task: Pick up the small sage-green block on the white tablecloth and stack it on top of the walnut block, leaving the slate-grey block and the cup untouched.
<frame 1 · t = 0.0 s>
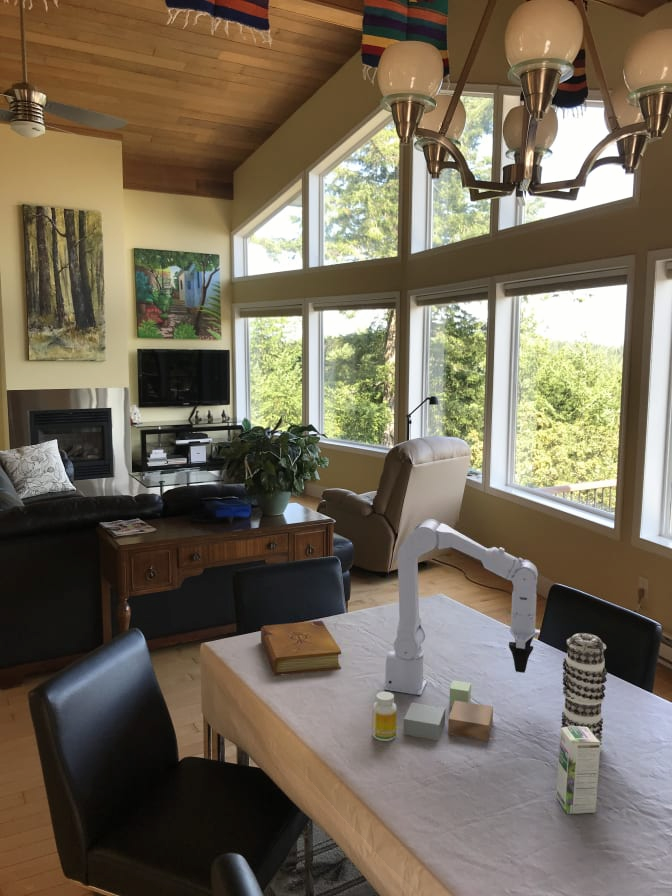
hand: (521, 665, 172), 10 cm above the table, tool pointing down, fingers open, 7 cm apart
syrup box: (575, 805, 135), on the table
supplement bottle: (384, 736, 159), on the table
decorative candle: (580, 746, 155), on the table
diary: (299, 657, 202), on the table
sage block: (459, 704, 173), on the table
slate block: (424, 729, 162), on the table
walnut block: (470, 728, 163), on the table
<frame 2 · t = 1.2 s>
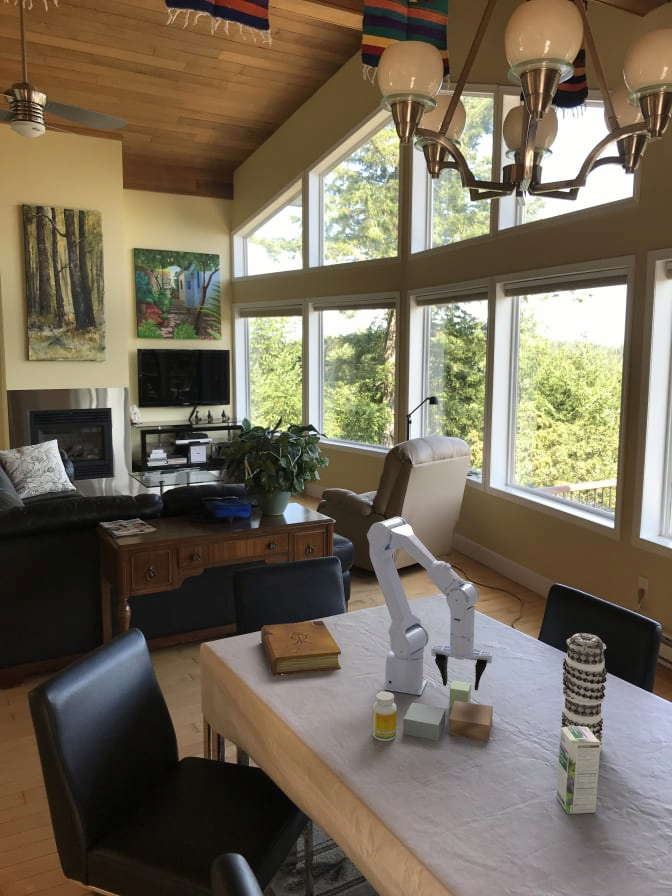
hand: (460, 686, 173), 5 cm above the table, tool pointing down, fingers open, 7 cm apart
nothing on the table moved.
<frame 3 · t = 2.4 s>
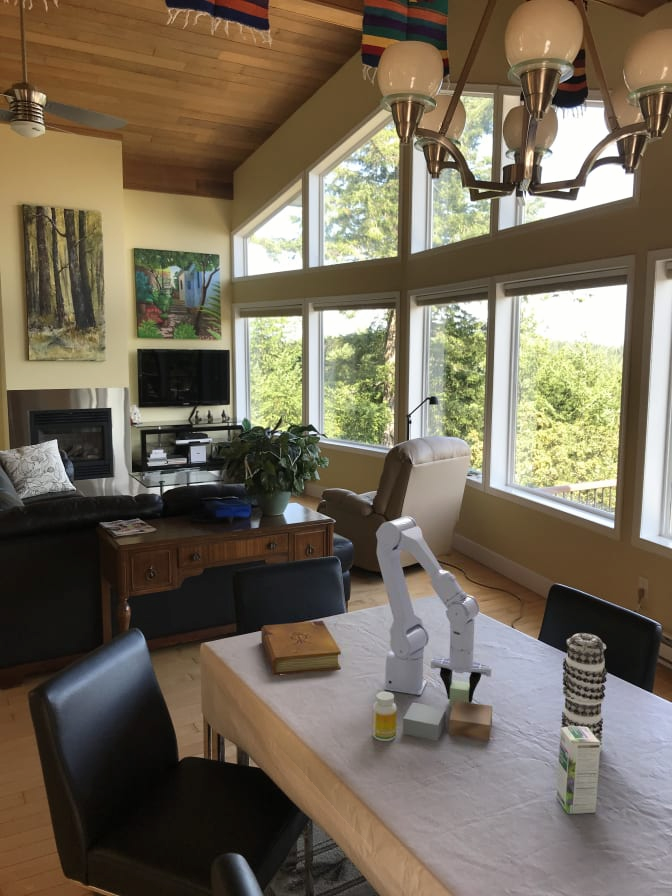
hand: (460, 699, 173), 1 cm above the table, tool pointing down, fingers closed on sage block, 4 cm apart
sage block: (459, 704, 173), on the table, touching gripper
everything else where it was.
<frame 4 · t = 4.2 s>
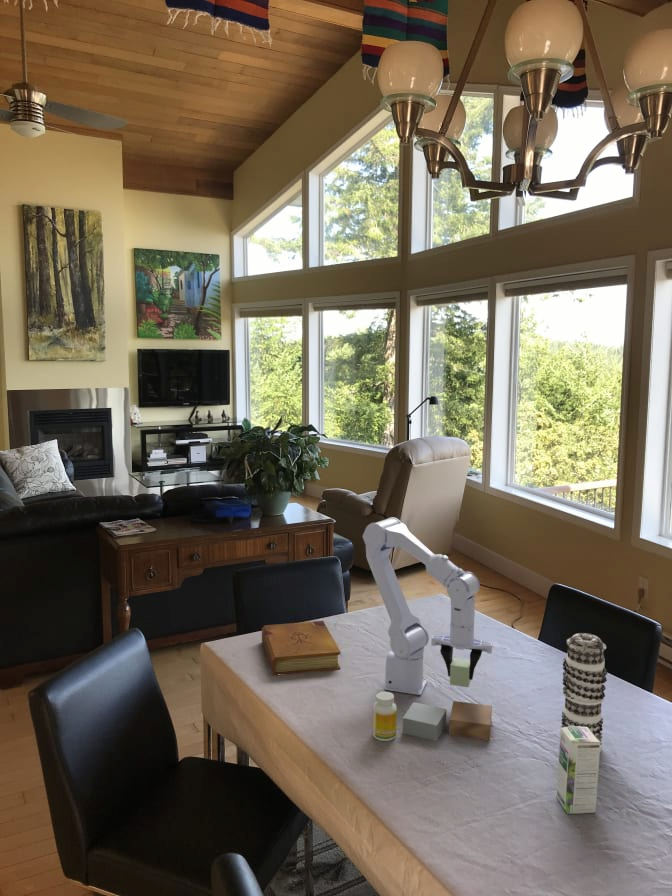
hand: (460, 676, 172), 7 cm above the table, tool pointing down, fingers closed on sage block, 4 cm apart
sage block: (460, 681, 173), point 6 cm above the table, touching gripper
everything else where it was.
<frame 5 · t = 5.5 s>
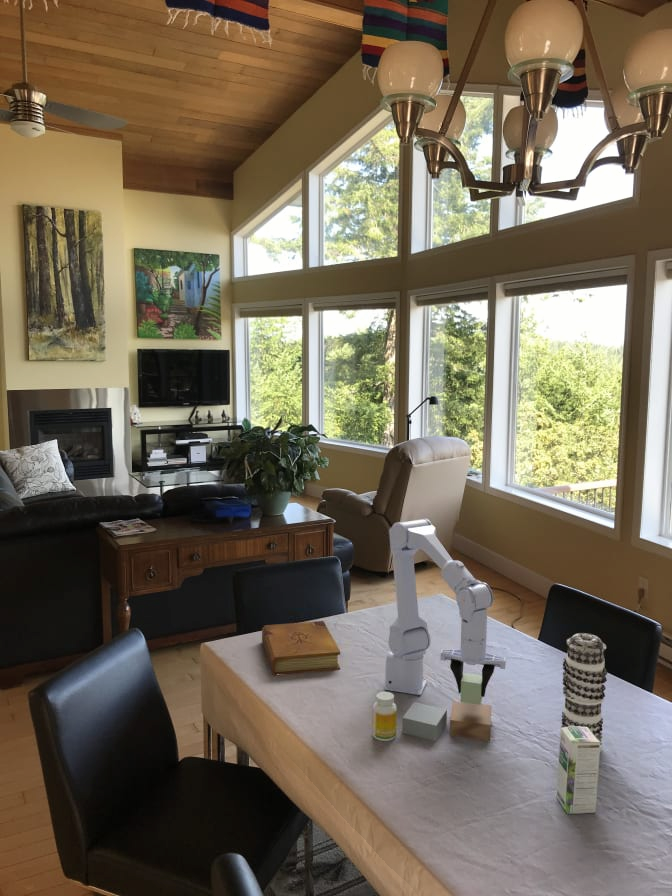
hand: (471, 693, 162), 8 cm above the table, tool pointing down, fingers closed on sage block, 4 cm apart
sage block: (471, 698, 162), point 7 cm above the table, touching gripper
everything else where it was.
when the fingers open (6 cm above the table, at t = 6.3 s): sage block drops 1 cm, point 4 cm above the table.
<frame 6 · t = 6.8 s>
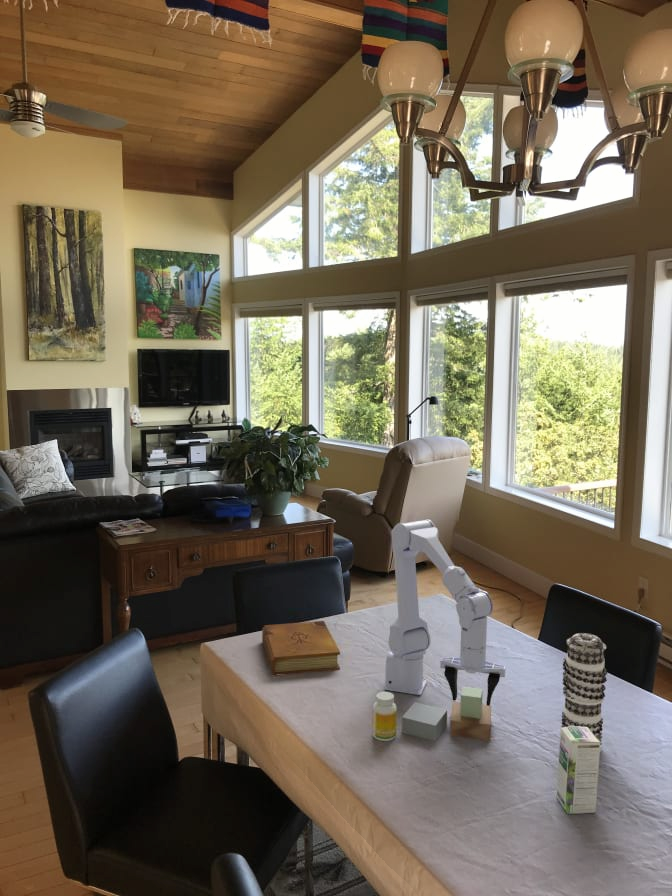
hand: (471, 701, 162), 6 cm above the table, tool pointing down, fingers open, 7 cm apart
sage block: (471, 712, 162), point 4 cm above the table
everything else where it was.
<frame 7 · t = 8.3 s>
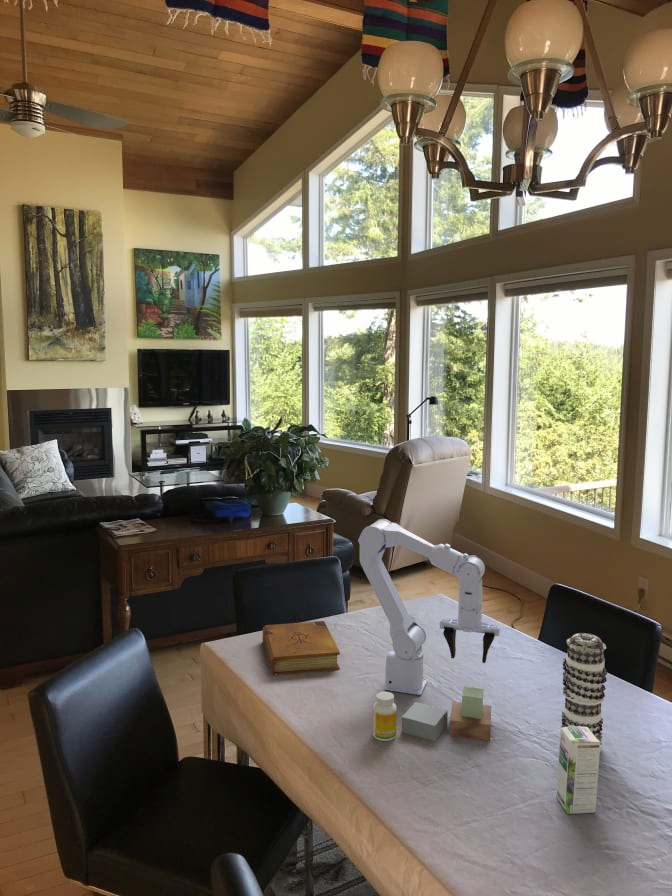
hand: (468, 659, 175), 10 cm above the table, tool pointing down, fingers open, 7 cm apart
sage block: (472, 712, 162), point 4 cm above the table, touching walnut block
walnut block: (470, 729, 163), on the table, touching sage block
everything else where it was.
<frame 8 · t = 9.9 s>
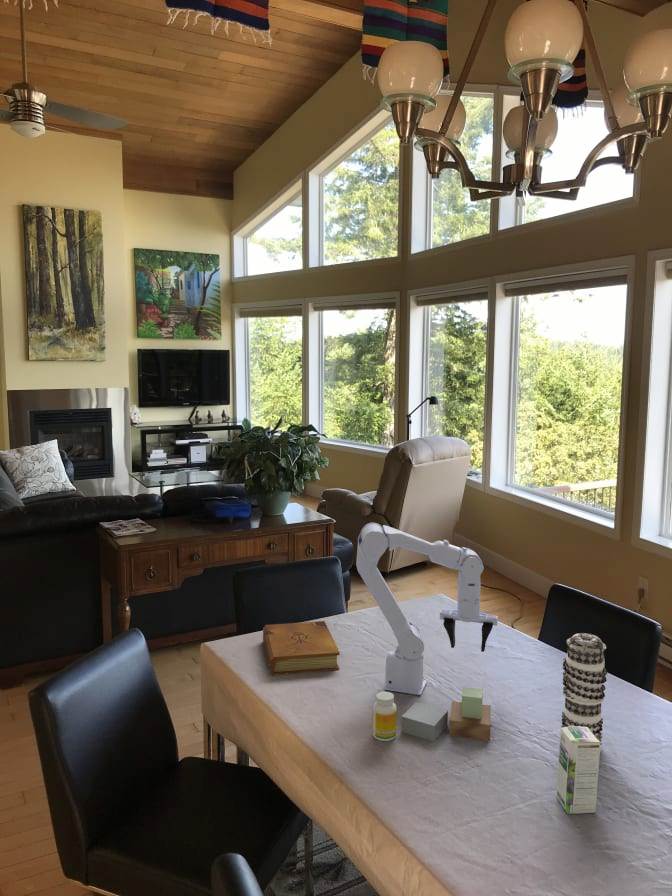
hand: (467, 648, 181), 10 cm above the table, tool pointing down, fingers open, 7 cm apart
nothing on the table moved.
at the end: sage block 0.5 cm off-centre on the walnut block, point 4.0 cm above the walnut block's base; sage block tilted 0°; the gripper is holding nothing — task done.
